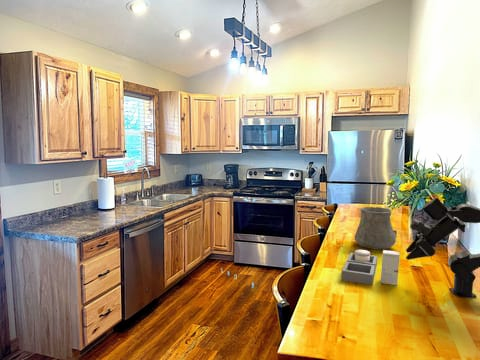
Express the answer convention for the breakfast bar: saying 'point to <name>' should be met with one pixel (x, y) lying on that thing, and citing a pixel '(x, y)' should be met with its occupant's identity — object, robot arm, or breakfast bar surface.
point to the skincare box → (390, 267)
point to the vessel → (375, 228)
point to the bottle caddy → (360, 267)
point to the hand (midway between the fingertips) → (406, 255)
